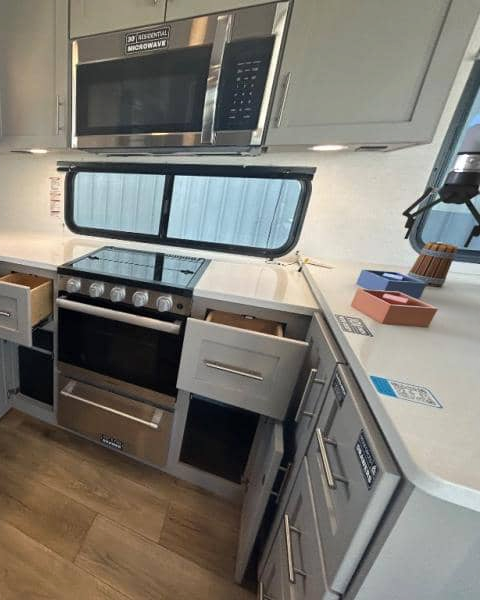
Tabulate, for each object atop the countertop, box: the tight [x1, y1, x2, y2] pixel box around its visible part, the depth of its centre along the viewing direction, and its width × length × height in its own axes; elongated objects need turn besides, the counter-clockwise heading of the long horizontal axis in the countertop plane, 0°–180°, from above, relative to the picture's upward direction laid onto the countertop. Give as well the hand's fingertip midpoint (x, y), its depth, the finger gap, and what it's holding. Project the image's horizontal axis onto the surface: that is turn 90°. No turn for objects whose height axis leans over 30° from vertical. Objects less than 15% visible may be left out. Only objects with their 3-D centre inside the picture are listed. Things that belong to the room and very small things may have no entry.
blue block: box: [382, 273, 403, 281], centre depth 114 cm, size 5×5×5 cm
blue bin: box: [356, 269, 427, 300], centre depth 114 cm, size 12×12×6 cm
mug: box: [406, 241, 458, 288], centre depth 127 cm, size 16×11×15 cm
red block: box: [381, 294, 408, 305], centre depth 93 cm, size 5×5×5 cm
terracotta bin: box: [350, 288, 439, 328], centre depth 93 cm, size 12×12×6 cm
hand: (434, 242), depth 105 cm, fingers open, 13 cm apart
